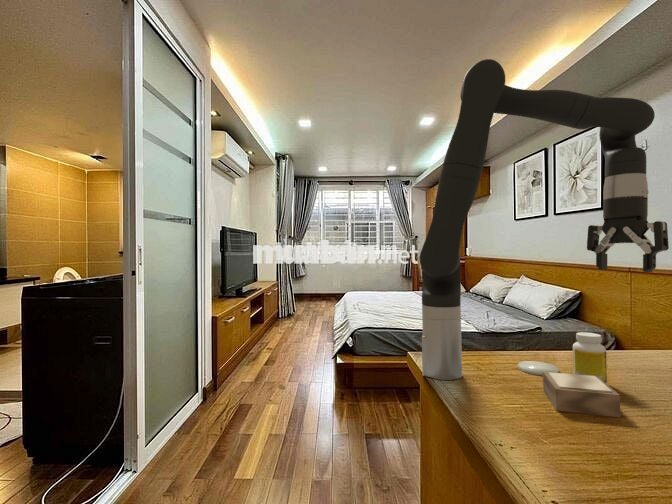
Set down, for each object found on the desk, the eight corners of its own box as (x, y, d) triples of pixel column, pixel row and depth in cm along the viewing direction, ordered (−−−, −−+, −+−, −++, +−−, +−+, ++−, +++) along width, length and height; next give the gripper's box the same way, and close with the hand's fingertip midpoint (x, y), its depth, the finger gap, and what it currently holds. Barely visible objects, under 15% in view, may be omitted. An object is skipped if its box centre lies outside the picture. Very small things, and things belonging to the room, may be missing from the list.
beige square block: (556, 410, 66) (555, 387, 66) (543, 390, 75) (542, 370, 75) (620, 417, 62) (619, 393, 63) (598, 395, 72) (597, 375, 72)
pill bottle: (613, 388, 76) (611, 337, 76) (581, 387, 77) (580, 337, 77) (597, 378, 82) (596, 331, 82) (568, 377, 83) (567, 331, 83)
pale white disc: (521, 373, 86) (521, 370, 86) (515, 362, 94) (515, 360, 94) (563, 377, 83) (563, 373, 83) (553, 365, 92) (553, 362, 92)
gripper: (580, 200, 82) (579, 269, 82) (655, 190, 69) (655, 273, 69) (599, 202, 85) (599, 269, 85) (675, 193, 72) (675, 272, 72)
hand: (624, 270), depth 77 cm, fingers open, 8 cm apart
